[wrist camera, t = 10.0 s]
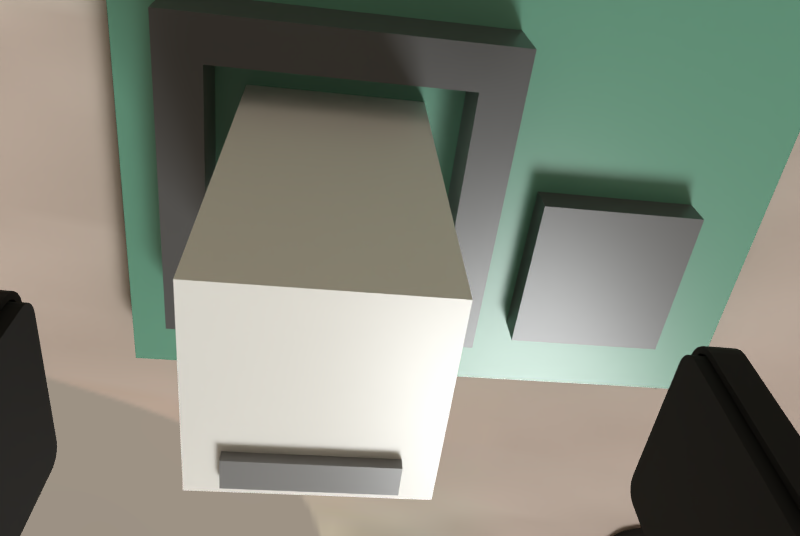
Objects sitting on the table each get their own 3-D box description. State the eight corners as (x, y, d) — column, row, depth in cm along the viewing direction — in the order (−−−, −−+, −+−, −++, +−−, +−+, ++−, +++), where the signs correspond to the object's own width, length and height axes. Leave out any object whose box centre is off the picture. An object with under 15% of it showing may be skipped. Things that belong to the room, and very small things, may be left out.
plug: (424, 102, 17) (474, 308, 10) (403, 252, 19) (432, 509, 12) (246, 84, 16) (170, 288, 10) (244, 240, 19) (180, 500, 12)
